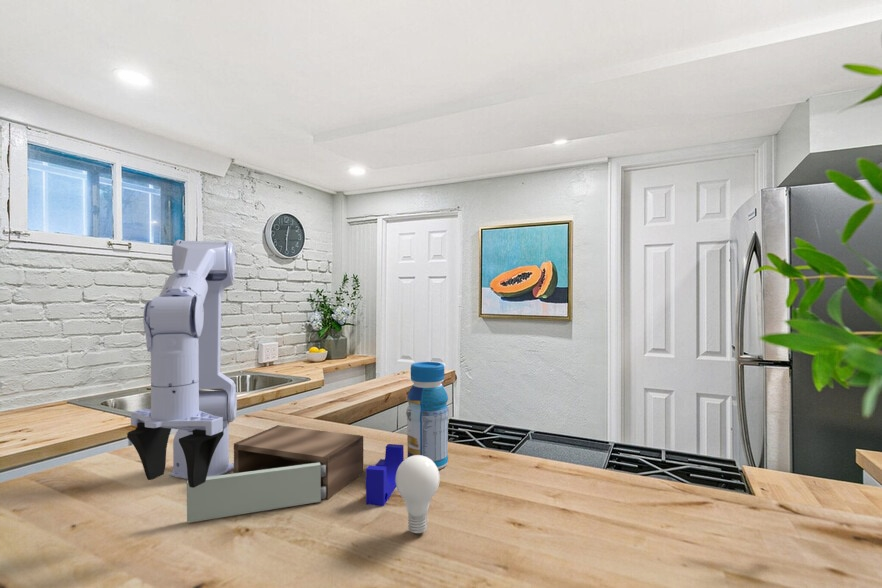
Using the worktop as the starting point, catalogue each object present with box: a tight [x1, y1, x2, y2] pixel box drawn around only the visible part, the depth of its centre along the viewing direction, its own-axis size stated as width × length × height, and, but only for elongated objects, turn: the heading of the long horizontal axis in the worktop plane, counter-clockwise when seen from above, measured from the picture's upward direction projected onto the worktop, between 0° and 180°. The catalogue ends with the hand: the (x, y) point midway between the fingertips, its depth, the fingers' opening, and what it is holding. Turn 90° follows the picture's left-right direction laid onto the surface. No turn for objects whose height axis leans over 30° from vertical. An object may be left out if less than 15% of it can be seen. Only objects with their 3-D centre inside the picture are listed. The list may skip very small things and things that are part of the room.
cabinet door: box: [186, 462, 326, 524], centre depth 71 cm, size 20×1×6 cm, turn 110°
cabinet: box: [233, 424, 365, 500], centre depth 84 cm, size 20×12×7 cm, turn 70°
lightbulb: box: [395, 455, 441, 535], centre depth 65 cm, size 6×6×11 cm
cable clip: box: [365, 443, 405, 507], centre depth 79 cm, size 12×4×6 cm, turn 169°
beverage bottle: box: [405, 361, 450, 470], centre depth 90 cm, size 8×8×20 cm
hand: (176, 480), depth 62 cm, fingers open, 7 cm apart
